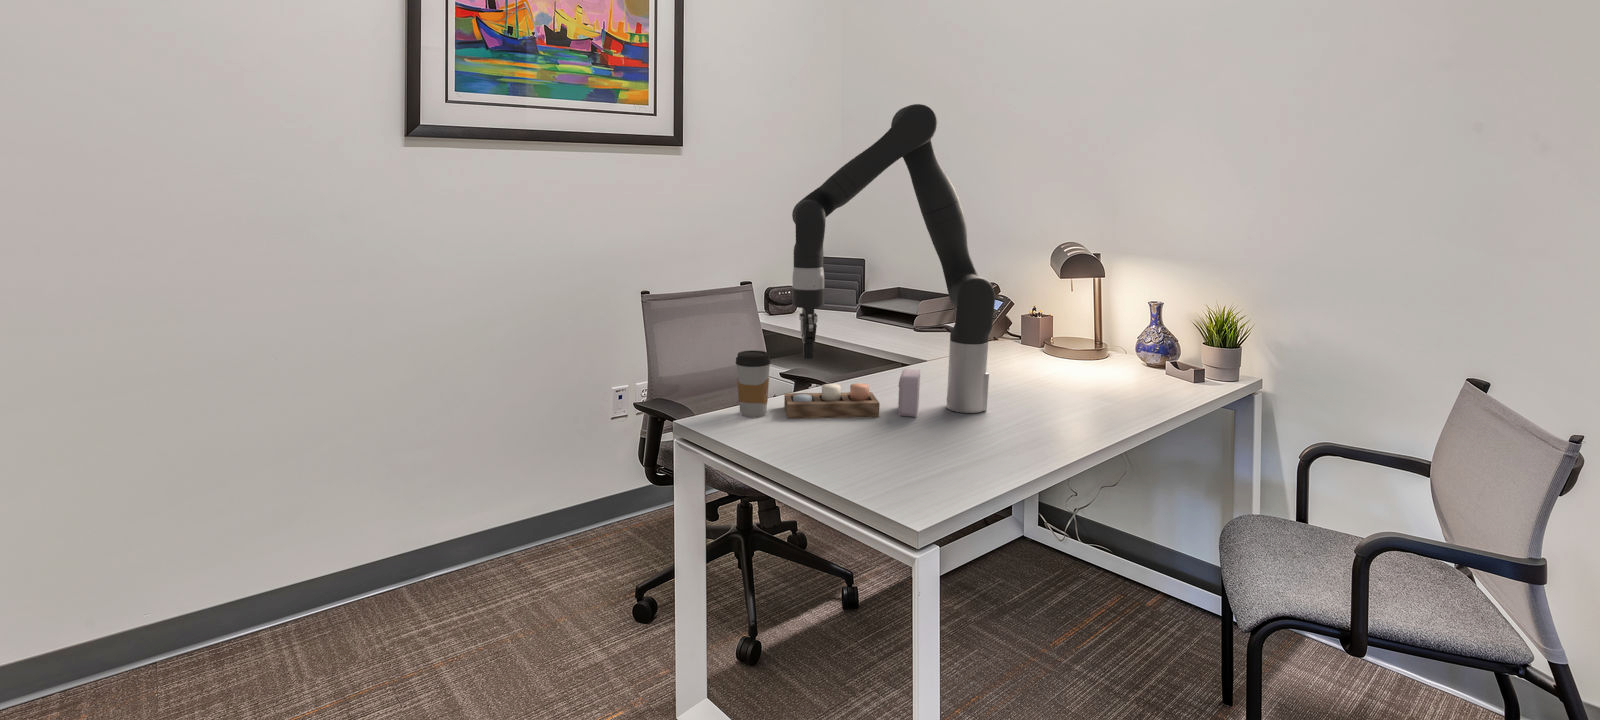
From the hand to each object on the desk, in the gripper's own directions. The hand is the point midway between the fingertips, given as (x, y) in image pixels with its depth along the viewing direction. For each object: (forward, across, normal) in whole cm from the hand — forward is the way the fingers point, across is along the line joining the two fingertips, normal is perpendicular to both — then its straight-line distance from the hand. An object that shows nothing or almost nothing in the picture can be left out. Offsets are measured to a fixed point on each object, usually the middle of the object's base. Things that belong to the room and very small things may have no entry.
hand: (808, 358), depth 189 cm
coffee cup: (+14, -1, +13) cm, 19 cm away
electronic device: (+14, -1, -25) cm, 28 cm away
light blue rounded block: (+13, 0, +1) cm, 13 cm away
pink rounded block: (+10, 0, -13) cm, 16 cm away
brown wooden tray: (+14, 0, -6) cm, 15 cm away
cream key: (+10, 0, -6) cm, 12 cm away
